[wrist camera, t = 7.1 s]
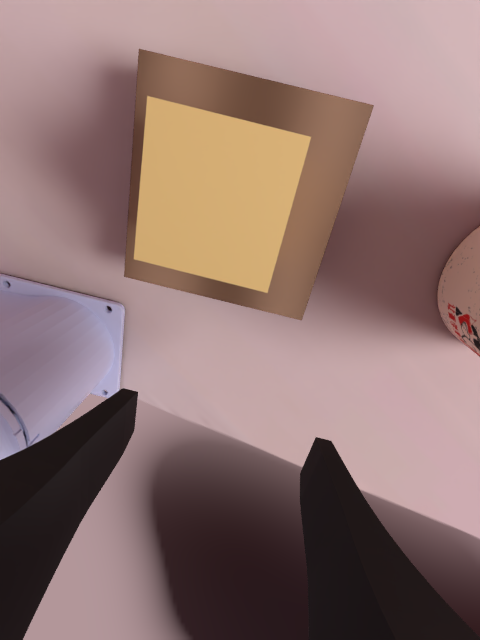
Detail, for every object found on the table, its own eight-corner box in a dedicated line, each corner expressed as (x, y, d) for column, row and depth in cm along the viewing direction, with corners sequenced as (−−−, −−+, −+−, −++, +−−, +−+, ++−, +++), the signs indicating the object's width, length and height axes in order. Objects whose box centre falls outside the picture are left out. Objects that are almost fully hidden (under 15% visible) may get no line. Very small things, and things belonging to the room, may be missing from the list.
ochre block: (174, 238, 16) (133, 259, 11) (190, 126, 14) (147, 96, 9) (269, 262, 16) (267, 292, 11) (299, 153, 14) (311, 137, 9)
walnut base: (145, 264, 20) (124, 276, 17) (163, 73, 15) (138, 48, 13) (297, 301, 19) (301, 320, 17) (356, 119, 15) (373, 105, 13)
